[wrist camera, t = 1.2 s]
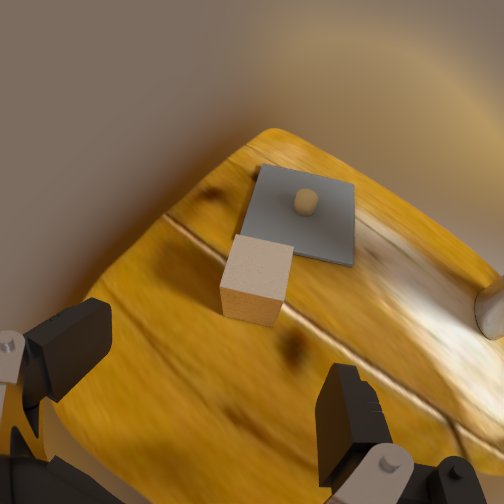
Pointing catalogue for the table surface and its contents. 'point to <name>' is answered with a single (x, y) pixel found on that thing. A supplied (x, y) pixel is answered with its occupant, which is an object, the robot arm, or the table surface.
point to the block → (255, 280)
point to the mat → (303, 229)
